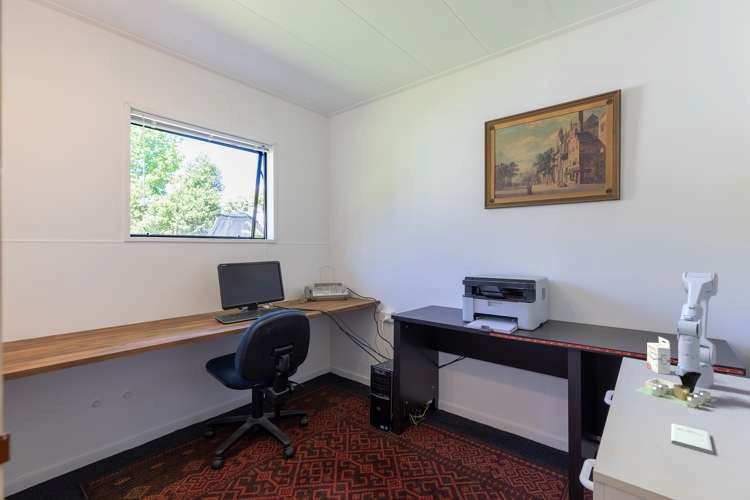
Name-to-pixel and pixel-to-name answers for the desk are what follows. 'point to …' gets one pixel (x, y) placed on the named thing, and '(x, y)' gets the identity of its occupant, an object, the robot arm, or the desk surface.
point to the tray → (660, 381)
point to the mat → (670, 397)
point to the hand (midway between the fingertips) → (688, 392)
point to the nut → (680, 391)
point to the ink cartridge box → (659, 356)
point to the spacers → (691, 400)
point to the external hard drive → (691, 438)
